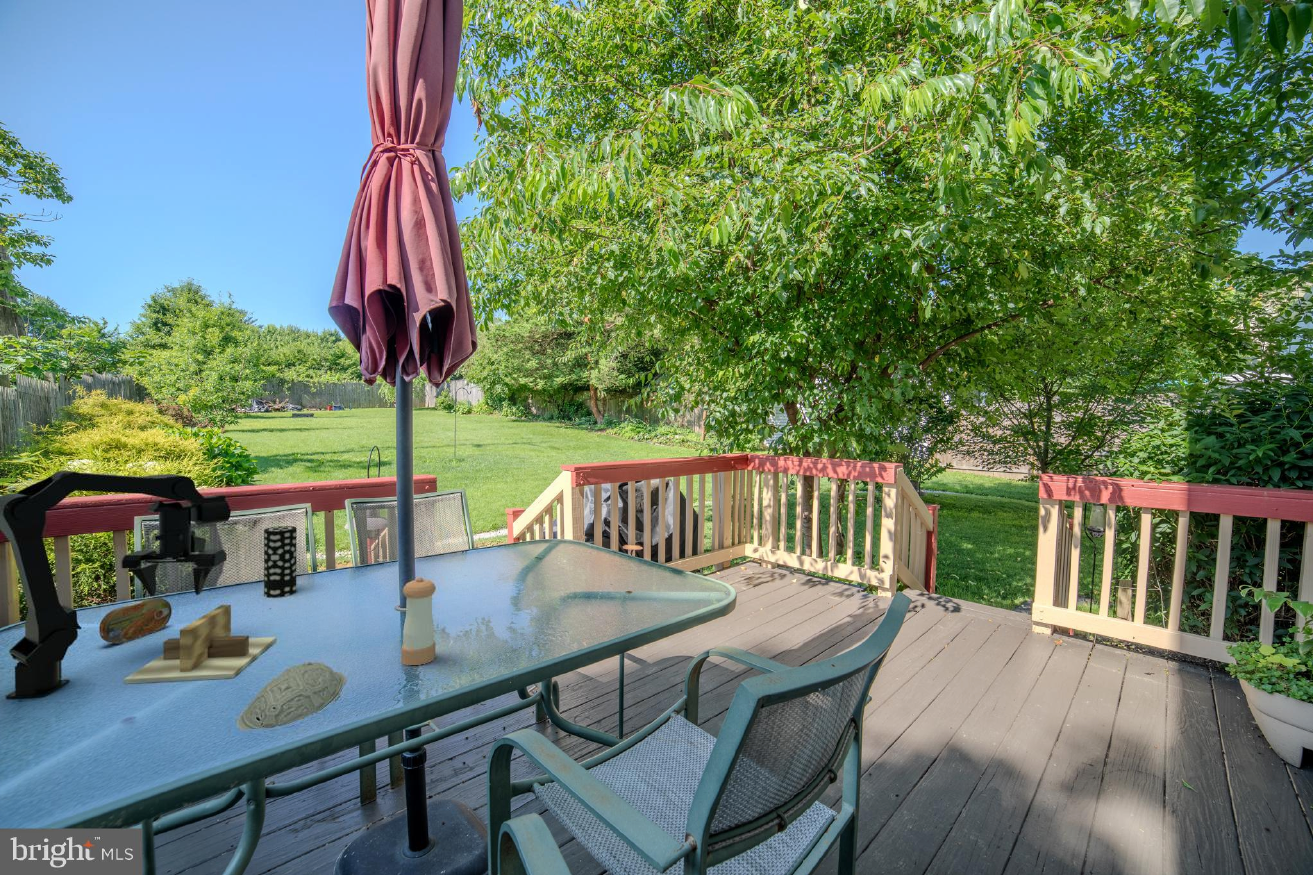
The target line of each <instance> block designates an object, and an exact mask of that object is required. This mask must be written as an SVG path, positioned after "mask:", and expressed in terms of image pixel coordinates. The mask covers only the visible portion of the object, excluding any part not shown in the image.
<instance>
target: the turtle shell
mask: <svg viewBox="0 0 1313 875" xmlns="http://www.w3.org/2000/svg"><path fill="white" fill-rule="evenodd" d="M346 683H347V678H346V675H344V673H343V672H338V671H335V670H334V669H332V667H330V666H329V665H327V664H325V663H324V662H317V661H314V662H312V661H309V660H308V661H304V663H302V664H297V665H292V666H291V667H289V668H287V669H285V670H284V671H283V672H282V673H281V674H279V675H277V676H276V677H275V678H272V679H271V680H270V681H269V682H267V684H266V685H264V686H263V688H261V690H260V691H259V692H258V693H257V695H256V696H255V698H254V699H252V700H251V702H249V703H248V705H247V706H246V707H245V709H243V711H241V714H240V715H239V716H238V718H237V721H236V725H237V728H238V729H240V730H241V731H242V730H244V732H246V731H248V730H249V729H268V728H274V727H276V726H282V725H283V726H285V725H286V724H290V723H292V722H295V721H297V720H301V719H304V718H305V717H308V716H309V715H313V714H314V713H317V712H318V711H320V710H322V709H323V708H324V707H326V706H327V705H328V704H329V703H331V702H332V701H334V702H335V701H336V700H337V699H338V698H339V697H341V696H340V695H341V692H342V691H343V688H344V685H345V684H346ZM257 718H258V719H259V720H258V719H257ZM245 730H246V731H245Z"/></svg>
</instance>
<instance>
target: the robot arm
mask: <svg viewBox="0 0 1313 875" xmlns="http://www.w3.org/2000/svg"><path fill="white" fill-rule="evenodd" d="M75 491H77V492H78V491H79V492H81V491H82V492H98V493H99V492H101V493H117V494H118V493H121V494H139V495H140V494H142V495H145V496H146V495H147V496H151V497H157V498H161V499H165V500H171V501H172V502H165V503H164V502H163V501H162V500H158V499H157V500H155V501H154V502H153V503H152V504H151V505H149V507H147V508H146V511H147V512H152V513H158V534H156V535H155V538H154V540H155V541H159V542H158V547H159V548H158V551H159V552H157V551H156V550H137V551H134V552H131V553H128V554H125V555H124V556H123V557H122V559H121V560H120V563H121V564H120V566H121V569H127V572H128V573H132V574H133V575H134V577H136V578H137V579H138V580H139V582H140V583H141V584H142V586H143V587H144V589H145V590H146V592H147V593H148V595H149V596H150V597H154V596H156V593H157V575H156V571H157V569H158V567H159V564H162V563H163V564H171V563H177V564H178V563H193V564H194V565H196V566H195V567H193V568H192V572H193V584H194V585H193V586H194V593H195V595H196V596H198V595H201V593H202V590H203V588H204V586H205V584H206V581H207V579H208V576H209V575H210V573H211V571H212V570H213V568H216V567H217V566H219V565H220V564H222V563H224V562H226V561H227V560H228V559H227V553H226V551H225V550H224V549H206V544H207V539H206V538H205V537H204V538H203V537H199V536H196V532H195V530H193V529H192V522H193V523H195V524H196V525H197V526H204V525H206V526H207V525H212V524H218V523H227V522H228V521H229V520H230V517H231V515H232V514H231V512H232V510H231V507H230V506H229V502H228V501H227V500H226V495H225V494H214V495H210V496H203V495H202V493H200V492H199V491H198V490H197V488H196V484H195V482H194V481H193V479H192V478H191V477H190V476H185V475H178V474H173V473H166V474H165V473H163V474H153V475H152V474H151V475H145V476H134V475H133V476H131V475H117V474H105V473H104V474H103V473H90V472H89V473H88V472H77V471H73V470H72V471H71V470H67V469H66V470H59V471H56V472H55V473H53V474H51V475H50V476H48V477H46V478H44V479H42V480H40V481H37V482H35V483H33V484H30V485H27V486H26V487H24V488H22V489H20V490H18V491H17V492H15V493H13V492H12V493H7V494H3V495H1V496H0V531H1V532H2V533H3V534H4V537H6V538H7V540H8V541H9V543H10V546H11V550H12V553H13V554H12V555H13V556H14V561H15V566H16V567H17V568H16V569H17V571H18V574H19V579H20V582H21V583H20V584H21V586H22V591H23V594H24V597H25V602H26V605H27V614H26V618H25V623H24V629H25V630H24V634H25V635H24V636H23V637H22V638H21V639H20V640H19V641H18V642H16V643H15V644H14V645H13V646H12V647H11V648H10V649H9V650H8V653H9V655H10V657H12V659H13V660H16V661H17V663H16V665H15V666H14V691H12V692H10V693H8V694H6V695H5V699H22V698H23V699H24V698H42V697H46V696H47V695H49V694H51V693H53V692H54V691H57V690H58V689H60V688H62V687H64V686H65V685H67V684H68V683H70V681H71V680H70V679H69V678H68V679H62V677H63V674H62V661H63V660H64V658H65V656H66V654H67V651H68V649H69V647H70V646H72V645H74V644H73V643H74V642H75V641H76V640H77V639H78V635H79V634H78V632H79V631H78V630H81V629H82V626H81V625H79V622H78V614H77V610H76V609H74V608H71V607H69V606H66V605H64V604H62V605H61V603H60V599H59V595H58V593H57V592H58V591H57V588H56V585H55V581H54V577H53V572H52V569H51V564H50V562H49V558H48V553H47V550H46V545H45V542H44V534H45V530H46V525H47V511H50V510H51V509H53V508H54V507H56V506H57V505H59V503H61V502H62V501H63V500H64V499H66V498H67V497H68V496H70V495H71V494H73V493H74V492H75ZM173 501H174V502H173ZM181 502H185V503H189V504H182V503H181ZM205 549H206V550H205ZM197 552H198V553H197Z"/></svg>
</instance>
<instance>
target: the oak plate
mask: <svg viewBox="0 0 1313 875" xmlns="http://www.w3.org/2000/svg"><path fill="white" fill-rule="evenodd" d="M222 636H232V604H220V605H219V606H217V607H215V608H214V609H212V610H210V611H209V612H207V613H206V614H204V615H203V616H201V617H199V618H197V619H196V620H194V621H193V622H190V623H189V624H187V625H185V626H184V627H182V628H181V629H179V638H180V672H189V671H192V670H193V669H195V668H196V667H197V666H199V665H200V664H201V663H203V662H204V661H205V660H207V659H208V647H210V646H213V640H214V639H215V638H217V637H222Z"/></svg>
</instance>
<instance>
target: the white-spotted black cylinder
mask: <svg viewBox="0 0 1313 875" xmlns="http://www.w3.org/2000/svg"><path fill="white" fill-rule="evenodd" d="M297 529H298V528H297V526H292V525H291V526H290V525H283V526H282V525H280V526H272V527H267V528H264V530H263V556H264V557H263V561H264V562H263V596H264V597H265V598H270V599H272V598H274V599H275V598H282V597H288V596H289V597H290V596H291V595H294V594H295V593H297V535H298V534H297V531H298V530H297Z"/></svg>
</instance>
